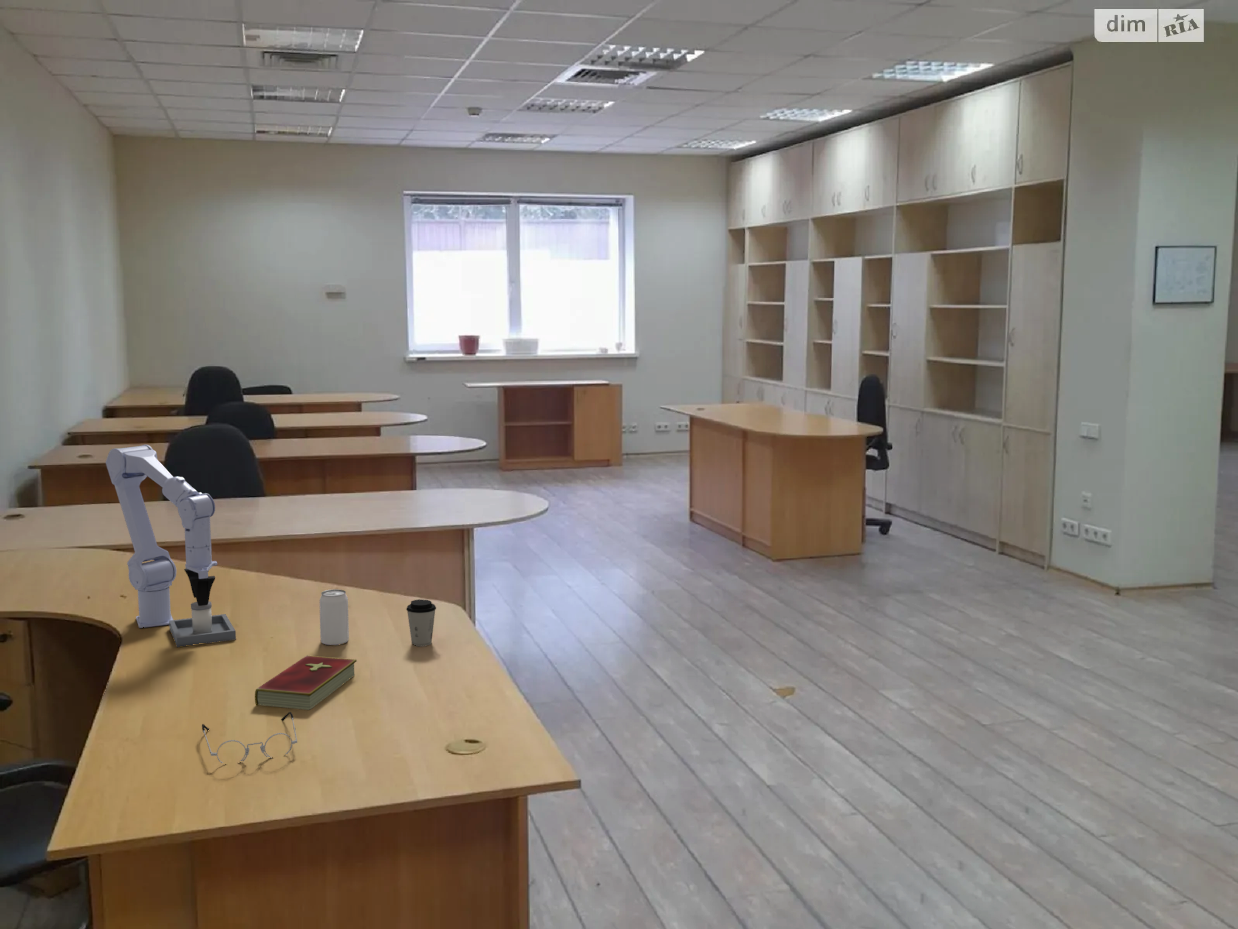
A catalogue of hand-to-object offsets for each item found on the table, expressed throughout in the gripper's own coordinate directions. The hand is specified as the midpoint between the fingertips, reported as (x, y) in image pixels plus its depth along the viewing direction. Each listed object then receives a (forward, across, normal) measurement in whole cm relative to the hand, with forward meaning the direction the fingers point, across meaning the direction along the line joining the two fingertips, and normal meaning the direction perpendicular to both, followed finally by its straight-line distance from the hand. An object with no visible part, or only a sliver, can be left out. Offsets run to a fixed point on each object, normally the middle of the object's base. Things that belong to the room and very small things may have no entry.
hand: (200, 601), depth 258 cm
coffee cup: (+8, -29, -45) cm, 54 cm away
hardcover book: (+9, -48, -14) cm, 51 cm away
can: (+8, -19, -27) cm, 34 cm away
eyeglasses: (+9, -70, +1) cm, 71 cm away
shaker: (+8, 0, 0) cm, 8 cm away
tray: (+8, 0, 0) cm, 8 cm away
